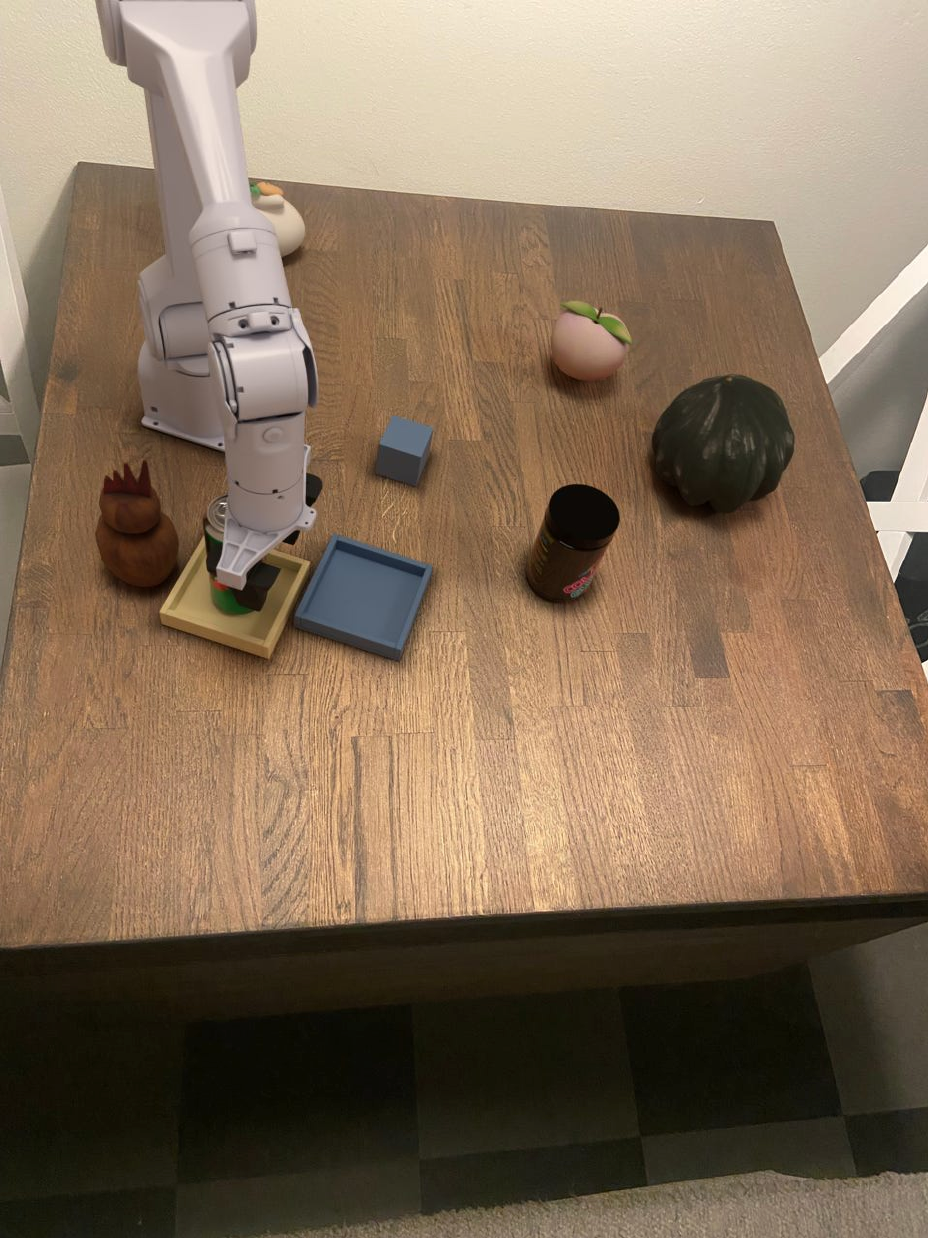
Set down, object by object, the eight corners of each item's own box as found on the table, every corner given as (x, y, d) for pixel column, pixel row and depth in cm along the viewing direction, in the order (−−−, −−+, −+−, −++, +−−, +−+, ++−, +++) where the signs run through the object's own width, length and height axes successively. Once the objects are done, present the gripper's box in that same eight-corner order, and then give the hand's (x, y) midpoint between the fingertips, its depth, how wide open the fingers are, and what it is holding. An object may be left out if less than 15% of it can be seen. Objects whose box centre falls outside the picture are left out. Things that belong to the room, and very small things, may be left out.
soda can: (257, 624, 83) (253, 543, 73) (203, 610, 83) (192, 527, 73) (274, 581, 86) (273, 497, 76) (222, 567, 86) (214, 482, 76)
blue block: (375, 473, 96) (378, 443, 92) (388, 444, 98) (392, 414, 95) (415, 486, 96) (421, 457, 92) (428, 457, 98) (433, 427, 95)
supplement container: (547, 614, 90) (575, 550, 81) (511, 563, 92) (534, 496, 84) (601, 591, 92) (634, 526, 84) (565, 542, 95) (593, 475, 86)
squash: (830, 467, 100) (801, 336, 93) (758, 540, 93) (720, 405, 86) (721, 467, 111) (687, 350, 104) (648, 532, 104) (607, 411, 97)
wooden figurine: (193, 560, 86) (177, 449, 74) (162, 606, 83) (140, 498, 71) (127, 534, 87) (101, 420, 74) (94, 579, 83) (60, 468, 71)
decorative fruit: (529, 383, 107) (549, 314, 99) (551, 343, 112) (572, 274, 104) (603, 413, 107) (630, 346, 98) (622, 372, 111) (649, 304, 103)
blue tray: (293, 627, 84) (294, 615, 83) (332, 545, 90) (333, 533, 88) (399, 661, 84) (401, 650, 82) (430, 577, 90) (433, 565, 88)
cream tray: (161, 624, 82) (158, 611, 80) (209, 540, 88) (208, 527, 86) (268, 659, 82) (268, 647, 80) (309, 573, 88) (310, 561, 86)
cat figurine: (312, 179, 106) (178, 150, 102) (307, 247, 106) (171, 221, 102) (304, 216, 116) (180, 191, 112) (298, 278, 115) (174, 255, 111)
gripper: (278, 553, 65) (279, 652, 76) (348, 418, 73) (339, 525, 84) (184, 522, 65) (199, 625, 76) (264, 391, 73) (267, 502, 84)
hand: (267, 571), depth 80 cm, fingers open, 7 cm apart
